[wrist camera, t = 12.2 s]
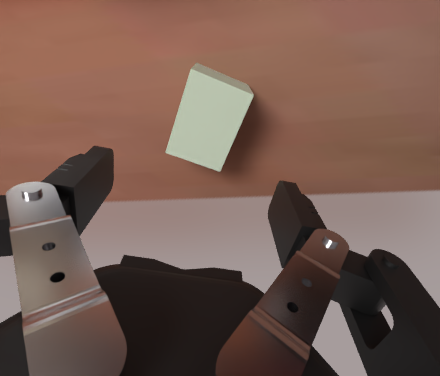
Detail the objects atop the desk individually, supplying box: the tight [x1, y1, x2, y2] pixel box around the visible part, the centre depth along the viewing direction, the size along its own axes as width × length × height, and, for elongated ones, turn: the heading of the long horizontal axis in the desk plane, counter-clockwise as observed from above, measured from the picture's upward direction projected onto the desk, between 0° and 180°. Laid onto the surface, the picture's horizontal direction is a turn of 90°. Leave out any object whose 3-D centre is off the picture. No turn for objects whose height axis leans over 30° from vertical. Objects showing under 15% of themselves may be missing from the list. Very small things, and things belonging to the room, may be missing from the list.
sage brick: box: [165, 63, 254, 172], centre depth 23 cm, size 5×7×5 cm
